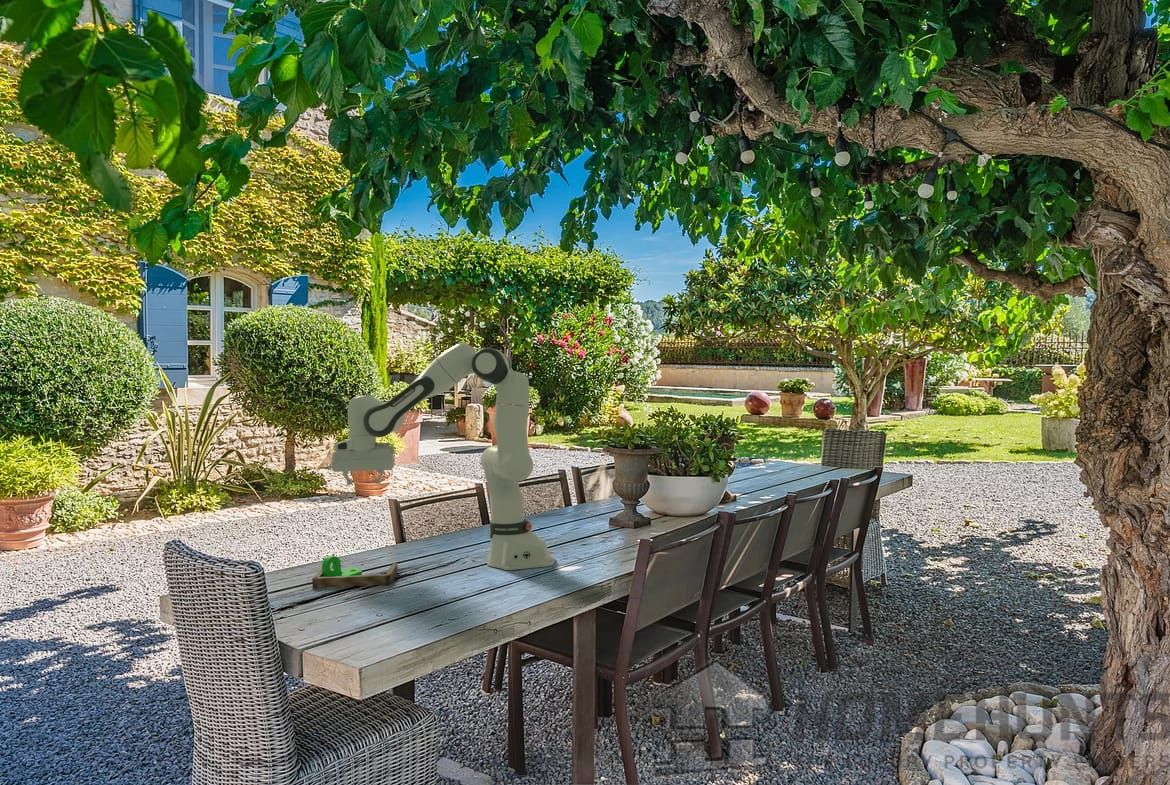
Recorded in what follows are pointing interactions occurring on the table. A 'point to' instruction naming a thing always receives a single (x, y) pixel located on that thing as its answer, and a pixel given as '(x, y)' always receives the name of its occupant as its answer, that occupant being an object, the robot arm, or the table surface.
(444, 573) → the table surface
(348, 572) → the mechanical part
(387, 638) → the table surface
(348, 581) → the walnut bay
